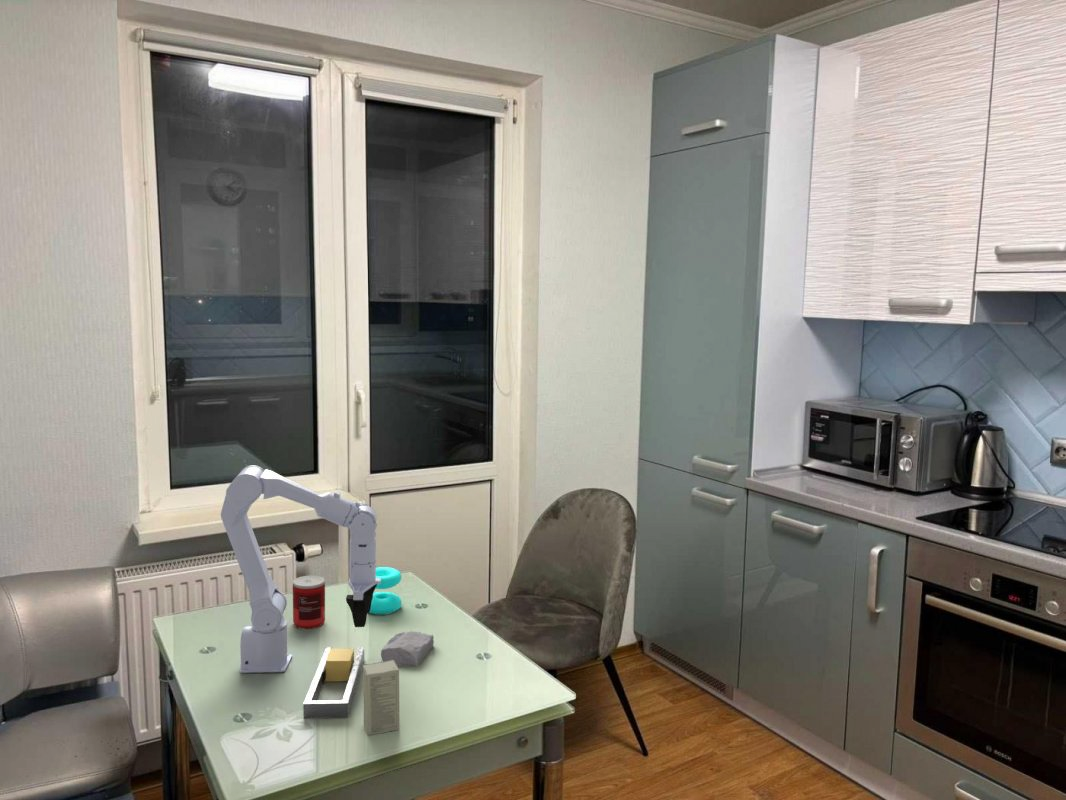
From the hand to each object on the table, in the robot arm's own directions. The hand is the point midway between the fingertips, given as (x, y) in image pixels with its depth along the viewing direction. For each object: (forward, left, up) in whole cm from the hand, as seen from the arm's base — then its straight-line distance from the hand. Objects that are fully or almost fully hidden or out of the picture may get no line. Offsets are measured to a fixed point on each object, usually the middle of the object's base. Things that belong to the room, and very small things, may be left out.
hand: (362, 619), depth 178 cm
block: (-4, -7, -9) cm, 13 cm away
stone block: (+10, +3, -10) cm, 14 cm away
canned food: (-16, +21, -10) cm, 28 cm away
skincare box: (+7, -29, -10) cm, 31 cm away
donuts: (+1, +30, -10) cm, 32 cm away
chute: (-4, -12, -9) cm, 16 cm away
